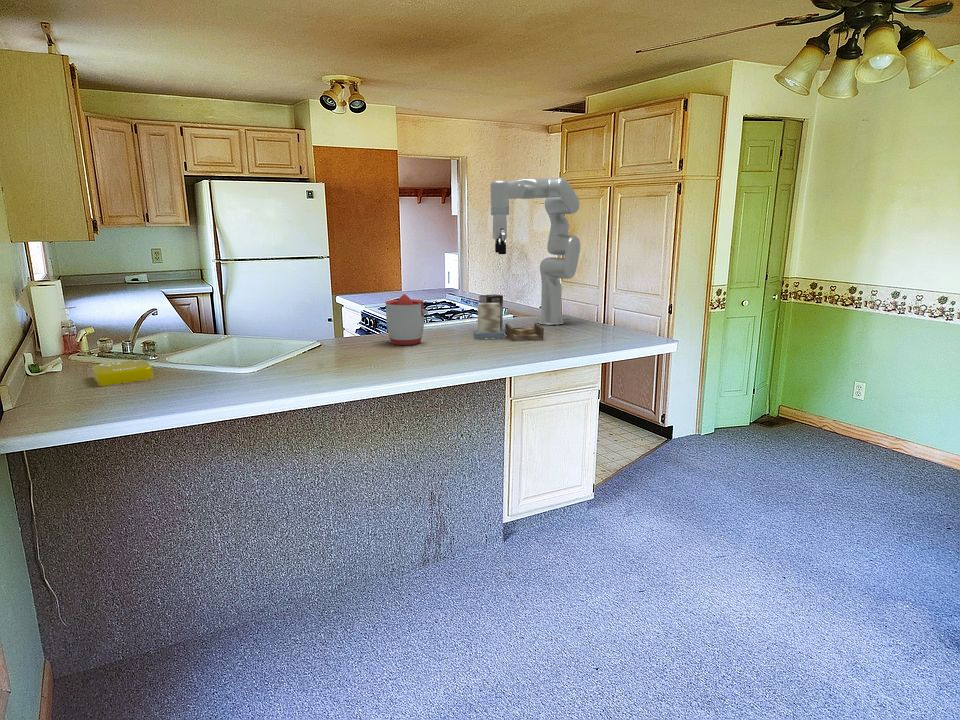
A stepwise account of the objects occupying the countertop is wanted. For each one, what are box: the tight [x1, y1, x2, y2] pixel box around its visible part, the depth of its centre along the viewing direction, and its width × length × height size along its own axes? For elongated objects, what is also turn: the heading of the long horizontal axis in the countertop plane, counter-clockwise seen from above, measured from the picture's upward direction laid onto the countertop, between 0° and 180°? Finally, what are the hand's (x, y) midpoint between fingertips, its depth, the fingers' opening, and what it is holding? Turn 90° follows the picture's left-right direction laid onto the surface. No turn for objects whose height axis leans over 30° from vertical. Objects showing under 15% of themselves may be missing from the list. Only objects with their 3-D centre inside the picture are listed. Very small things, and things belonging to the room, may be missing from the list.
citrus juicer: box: [384, 293, 430, 346], centre depth 241 cm, size 16×17×20 cm
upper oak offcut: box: [514, 327, 535, 336], centre depth 251 cm, size 8×4×2 cm, turn 126°
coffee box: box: [478, 293, 504, 331], centre depth 268 cm, size 9×6×16 cm
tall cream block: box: [477, 302, 500, 333], centre depth 252 cm, size 9×4×12 cm, turn 96°
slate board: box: [473, 329, 505, 340], centre depth 254 cm, size 12×8×2 cm, turn 96°
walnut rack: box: [504, 322, 545, 341], centre depth 253 cm, size 14×14×5 cm
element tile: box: [91, 359, 154, 387], centre depth 189 cm, size 15×15×5 cm
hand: (500, 253), depth 252 cm, fingers open, 9 cm apart
